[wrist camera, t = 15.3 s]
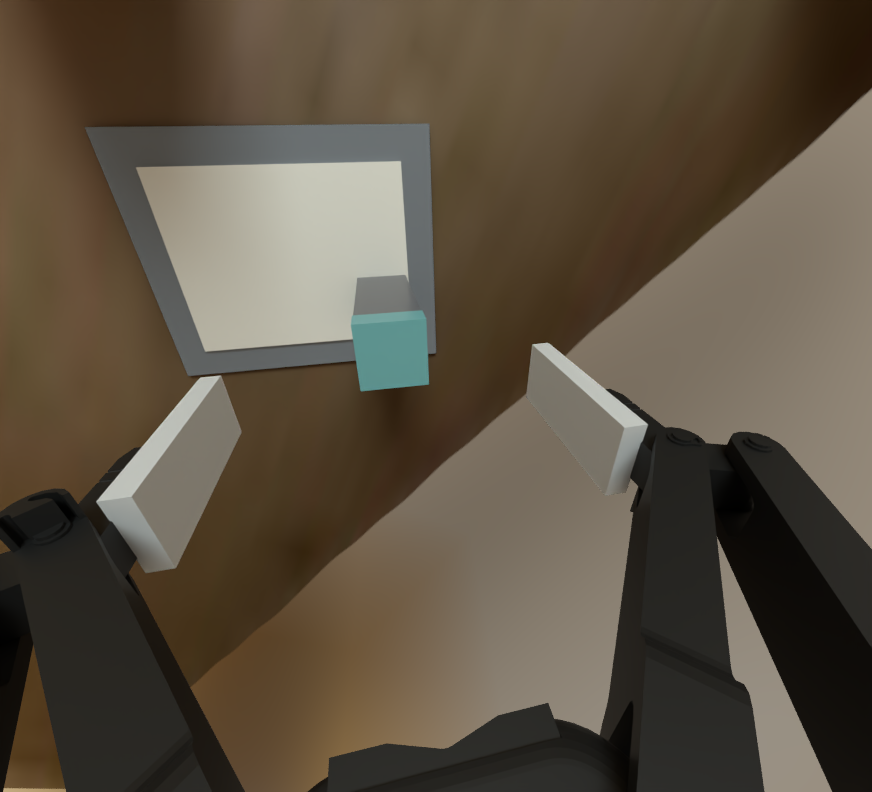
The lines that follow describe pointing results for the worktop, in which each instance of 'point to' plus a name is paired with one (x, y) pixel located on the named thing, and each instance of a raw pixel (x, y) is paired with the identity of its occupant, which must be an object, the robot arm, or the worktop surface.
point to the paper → (271, 232)
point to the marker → (389, 334)
